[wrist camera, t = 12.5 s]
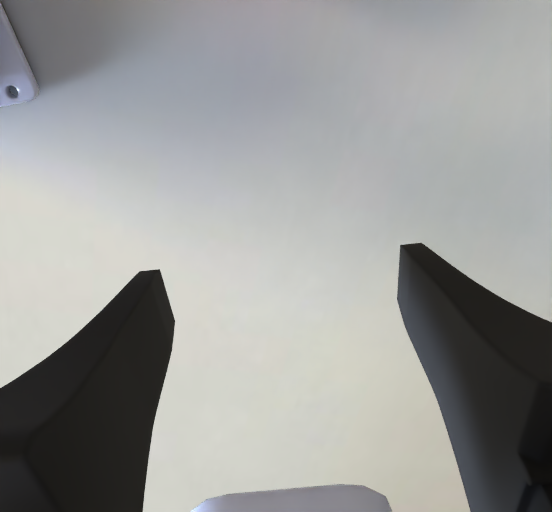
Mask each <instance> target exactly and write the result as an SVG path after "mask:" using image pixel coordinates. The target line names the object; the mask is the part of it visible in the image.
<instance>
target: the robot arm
mask: <svg viewBox="0 0 552 512" xmlns="http://www.w3.org/2000/svg"><path fill="white" fill-rule="evenodd" d="M10 85H12V86H14V87H16V89H17V90H18V93H19V95H18V96H15V95H14V94H12V93H11V91H10V88H9V87H10ZM38 95H39V87H38V84H37V82H36V79H35V77H34V75H33V73H32V71H31V68H30V66H29V64H28V62H27V60H26V57H25V55H24V53H23V51H22V48H21V46H20V44H19V42H18V40H17V37H16V35H15V33H14V31H13V29H12V26H11V24H10V22H9V20H8V18H7V15H6V13H5V11H4V9H3V7H2V4H1V2H0V107H4V106H9V105H14V104H19V103H24V102H29V101H31V100H33V99H35V98H36V97H37V96H38ZM397 300H398V304H399V308H400V311H401V315H402V318H403V321H404V325H405V328H406V330H407V332H408V335H409V337H410V339H411V342H412V344H413V346H414V348H415V351H416V353H417V355H418V357H419V359H420V362H421V364H422V366H423V368H424V371H425V373H426V375H427V377H428V379H429V382H430V384H431V386H432V388H433V391H434V393H435V396H436V398H437V401H438V404H439V407H440V410H441V413H442V416H443V419H444V422H445V425H446V428H447V431H448V435H449V438H450V441H451V444H452V448H453V451H454V454H455V458H456V461H457V464H458V468H459V471H460V475H461V478H462V482H463V485H464V489H465V493H466V496H467V500H468V503H469V507H470V511H471V512H552V322H549V321H547V320H545V319H542V318H540V317H538V316H536V315H534V314H531V313H529V312H527V311H525V310H523V309H521V308H519V307H518V306H516V305H514V304H512V303H510V302H508V301H506V300H504V299H503V298H501V297H499V296H497V295H496V294H494V293H492V292H491V291H489V290H487V289H486V288H484V287H483V286H481V285H479V284H478V283H476V282H475V281H473V280H472V279H470V278H469V277H467V276H466V275H464V274H463V273H462V272H460V271H459V270H457V269H456V268H455V267H453V266H452V265H451V264H449V263H448V262H446V261H445V260H444V259H442V258H441V257H440V256H438V255H437V254H436V253H434V252H433V251H432V250H430V249H429V248H428V247H426V246H425V245H424V244H422V243H415V244H406V245H400V260H399V277H398V294H397ZM174 325H175V320H174V316H173V313H172V309H171V306H170V303H169V299H168V296H167V292H166V289H165V286H164V282H163V279H162V275H161V272H160V269H159V270H149V271H140V272H139V273H138V274H137V275H136V276H135V277H134V278H133V279H132V280H131V281H130V282H129V283H128V284H127V285H126V286H125V287H124V288H123V289H122V290H121V291H120V292H119V293H118V294H117V295H116V296H115V297H114V298H113V299H112V300H111V301H110V302H109V303H108V305H107V306H106V307H105V308H104V309H103V310H102V311H101V312H100V313H99V314H98V315H96V316H95V317H94V318H93V319H92V320H91V321H90V322H89V323H88V324H87V325H86V326H85V327H84V328H82V329H81V330H80V331H79V332H78V333H77V334H76V335H75V336H74V337H72V338H71V339H70V340H69V341H68V342H66V343H65V344H64V345H63V346H62V347H60V348H59V349H58V350H56V351H55V352H54V353H52V354H51V355H50V356H49V357H47V358H46V359H44V360H43V361H42V362H40V363H39V364H37V365H36V366H34V367H33V368H31V369H30V370H28V371H27V372H25V373H24V374H22V375H21V376H19V377H18V378H16V379H15V380H13V381H12V382H10V383H8V384H7V385H5V386H3V387H2V388H0V512H142V511H143V501H144V491H145V483H146V474H147V466H148V458H149V451H150V444H151V437H152V430H153V424H154V420H155V415H156V411H157V407H158V403H159V399H160V395H161V391H162V387H163V384H164V380H165V376H166V372H167V368H168V364H169V360H170V356H171V351H172V344H173V336H174ZM191 512H392V509H391V507H390V505H389V503H388V501H387V498H386V496H384V495H382V494H380V493H378V492H376V491H374V490H372V489H370V488H368V487H365V486H362V485H345V484H337V485H326V486H314V487H303V488H291V489H280V490H268V491H257V492H245V493H234V494H226V495H222V496H218V497H214V498H210V499H206V500H205V501H204V502H202V503H201V504H200V505H199V506H197V507H196V508H195V509H193V510H192V511H191Z"/></svg>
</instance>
